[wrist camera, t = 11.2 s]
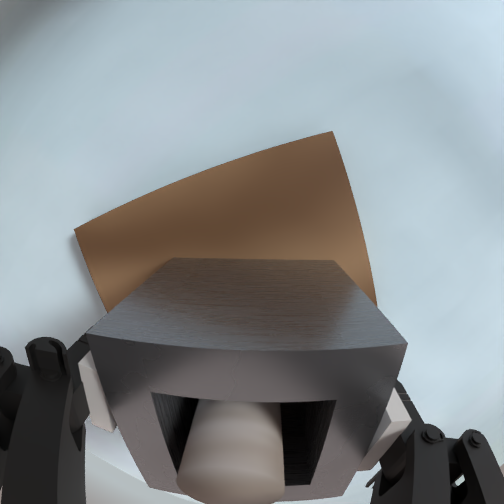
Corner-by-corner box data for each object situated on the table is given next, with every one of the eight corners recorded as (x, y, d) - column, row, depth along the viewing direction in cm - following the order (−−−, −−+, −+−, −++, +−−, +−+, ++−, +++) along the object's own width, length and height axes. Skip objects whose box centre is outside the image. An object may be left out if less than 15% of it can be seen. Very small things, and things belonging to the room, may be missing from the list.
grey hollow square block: (173, 257, 12) (85, 332, 5) (334, 260, 12) (407, 343, 5) (195, 431, 15) (172, 521, 8) (307, 434, 14) (320, 528, 8)
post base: (84, 226, 13) (-55, 273, 4) (327, 135, 12) (439, 52, 3) (197, 441, 16) (172, 545, 7) (382, 399, 15) (431, 506, 6)
